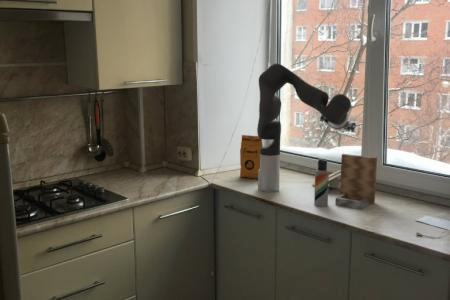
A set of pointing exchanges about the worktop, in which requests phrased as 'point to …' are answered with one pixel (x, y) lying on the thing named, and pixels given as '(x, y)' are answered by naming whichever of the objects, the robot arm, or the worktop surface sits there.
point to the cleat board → (357, 181)
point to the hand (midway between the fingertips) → (337, 125)
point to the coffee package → (250, 156)
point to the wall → (333, 179)
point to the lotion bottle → (321, 184)
